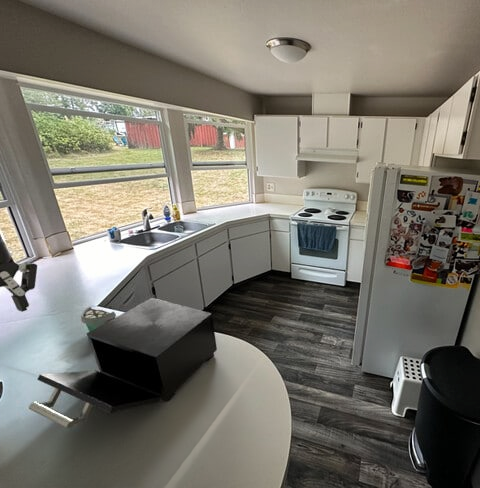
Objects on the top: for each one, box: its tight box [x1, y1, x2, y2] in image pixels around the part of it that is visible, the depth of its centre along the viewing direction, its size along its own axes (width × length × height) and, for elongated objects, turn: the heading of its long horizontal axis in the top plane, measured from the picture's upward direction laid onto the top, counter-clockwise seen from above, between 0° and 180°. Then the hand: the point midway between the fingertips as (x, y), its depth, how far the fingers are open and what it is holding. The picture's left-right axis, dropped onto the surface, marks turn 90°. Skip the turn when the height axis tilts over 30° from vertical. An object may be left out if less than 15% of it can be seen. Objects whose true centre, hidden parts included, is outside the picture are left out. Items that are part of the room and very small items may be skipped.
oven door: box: [28, 370, 162, 430], centre depth 62 cm, size 6×26×16 cm
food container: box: [80, 306, 117, 332], centre depth 92 cm, size 12×6×10 cm, turn 76°
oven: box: [86, 297, 218, 402], centre depth 79 cm, size 20×26×17 cm
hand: (8, 315), depth 54 cm, fingers open, 4 cm apart
